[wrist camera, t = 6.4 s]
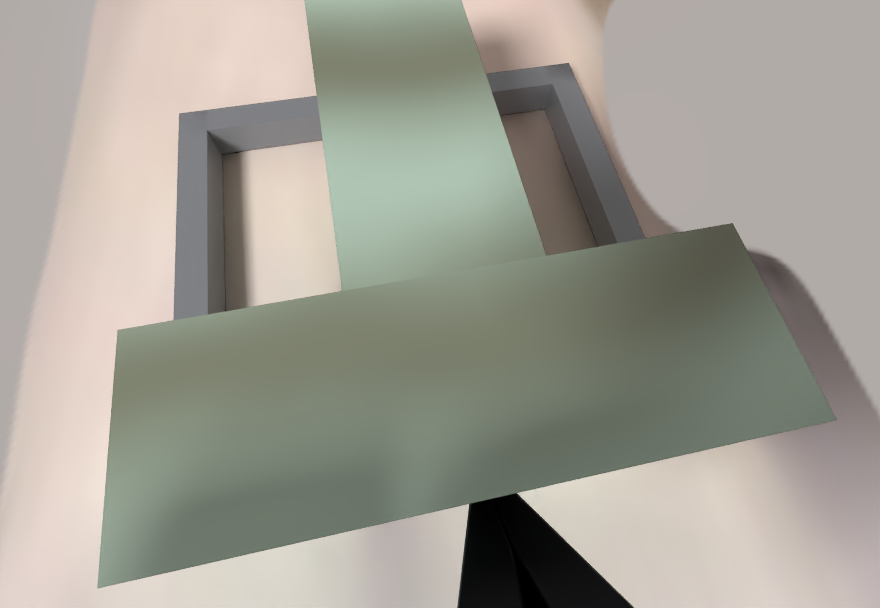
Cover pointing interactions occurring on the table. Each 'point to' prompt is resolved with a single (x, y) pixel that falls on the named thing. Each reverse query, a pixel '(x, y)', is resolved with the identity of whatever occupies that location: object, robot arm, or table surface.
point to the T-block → (432, 335)
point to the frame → (300, 123)
